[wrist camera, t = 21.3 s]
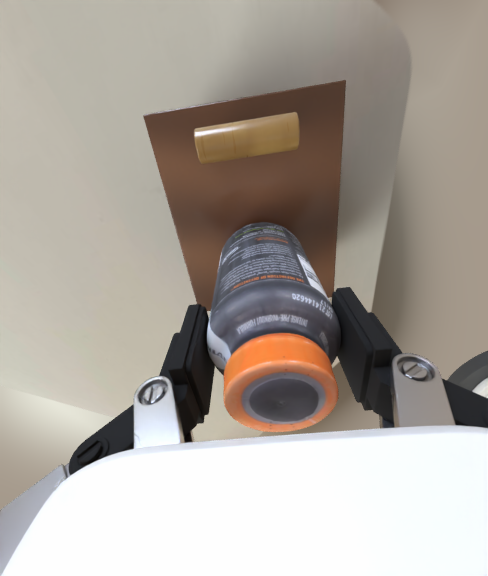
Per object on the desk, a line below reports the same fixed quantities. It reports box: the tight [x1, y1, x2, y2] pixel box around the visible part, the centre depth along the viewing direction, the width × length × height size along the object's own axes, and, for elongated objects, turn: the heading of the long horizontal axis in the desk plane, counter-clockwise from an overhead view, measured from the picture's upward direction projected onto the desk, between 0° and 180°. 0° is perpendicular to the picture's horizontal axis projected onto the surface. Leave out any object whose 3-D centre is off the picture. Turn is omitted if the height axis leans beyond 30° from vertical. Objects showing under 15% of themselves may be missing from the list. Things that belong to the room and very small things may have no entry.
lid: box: [143, 80, 346, 311], centre depth 16 cm, size 14×12×4 cm
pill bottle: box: [207, 222, 341, 432], centre depth 13 cm, size 6×6×11 cm
